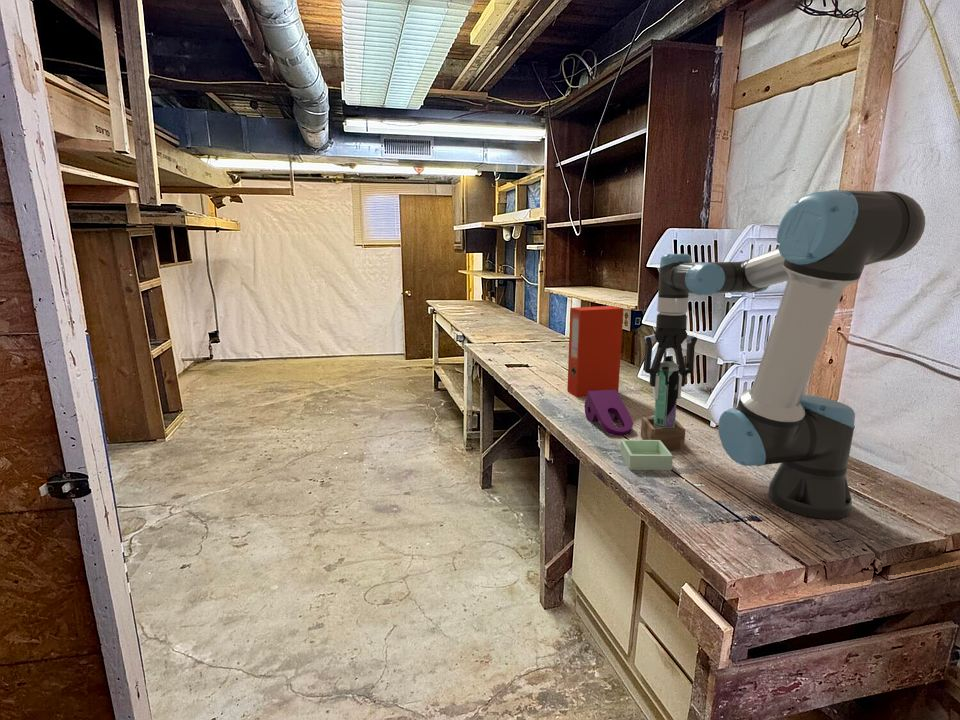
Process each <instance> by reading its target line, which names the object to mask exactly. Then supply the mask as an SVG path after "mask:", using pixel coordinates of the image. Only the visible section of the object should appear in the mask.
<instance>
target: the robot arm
mask: <svg viewBox="0 0 960 720" xmlns="http://www.w3.org/2000/svg"><path fill="white" fill-rule="evenodd" d="M925 227H926V216H925V213H924V210H923V209H922V207H921V205H920V204H919V203H918V202H917V201H916V200H915V199H914V198H912V197H911V196H909V195H907V194H905V193H903V192H897V191H890V190H889V191H888V190H883V191H882V190H881V191H878V190H877V191H875V190H874V191H872V190H868V191H867V190H849V189H848V190H843V189H833V190H826V191H825V190H824V191H814V192H811V193H807V194H806V195H804V196H802V197H801V198H800V199H798V200H796V201H795V202H794V203H793V204H792V205H791V206H789V208H788V209H787V211H786V212H785V214H784V215H783V217H782V219H781V221H780V223H779V226H778V229H777V234H776V242H777V243H778V244H779V245H778V246H777V248H775V249H773V250H770V251H767V252H764V253H762V254H759V255H756V256H754V257H751V258H748V259H745V260H742V261H741V260H740V261H724V262H723V261H718V262H716V261H712V262H711V261H708V262H707V261H706V262H704V261H700V262H695V261H694V262H693V261H692V256H691V255H690V254H689V253H671V254H670V253H668V254H667V253H665V254H663V255H661V257H660V262H659V264H660V265H659V268H658V289H657V291H658V293H657V296H658V297H657V308H656V310H657V312H658V313H657V314H656V323H655V324H656V326H655V331H654V333H653V334H651V335H644V337H643V340H644V344H645V345H644V346H645V347H644V358H643V370H642V371H644V372H645V373H646V374H649V386H650V387H652V394H651V396H652V398H653V399H654V400H655V399H658V391H659V375H657V372H658V369H659V366H660V363H661V362H662V361H663V357H664V355H665V352H666V350H667V349H673V351H674V355H675V360H676V364H678V365H679V367H678V368H679V375H678V389H677V400H681V399H682V398H681V397H682V396H681V394H682V387H685V385H686V379H687V376H688V374H693V373H694V368H695V347H696V344H697V342H698V337H697V336H694V335H690V334H688V332H687V322H688V316H687V312H688V308H689V294H695V295H697V296H712V295H714V294H729V293H732V294H733V293H735V294H737V293H747V294H753V293H758V292H759V293H760V292H764V291H766V290H768V288H769V287H770V286H772V285H773V286H774V285H777V284H780V283H783V282H786V285H785V288H784V290H783V291H784V292H783V294H782V297H781V300H780V303H779V305H778V309H777V312H776V315H775V318H774V320H773V324H772V327H771V330H770V333H769V336H768V339H767V342H766V345H765V348H764V351H763V355H762V357H761V360H760V363H759V366H758V369H757V372H756V374H755V378H754V381H753V384H752V386H751V388H749V389H747V390H745V391H743V392H742V393H741V394H740V397H739V400H738V402H737V406H736V408H729V409H727V410H725V411H723V412H722V414H720V417H719V419H718V423H717V424H718V436H719V440H720V442H721V446H722V448H723V449H724V451H725V452H726V454H727V455H728V457H729V458H730V459H731V460H732V461H734V462H736V464H739V465H741V466H743V467H751V466H753V467H754V466H756V467H762V466H765V465H775V464H780V465H778V468H777V470H776V472H775V473H774V475H773V478H772V479H771V481H770V482H769V485H768V491H767V492H768V493H767V494H768V497H769V498H770V499H771V501H773V502H774V503H775V504H776V505H778V506H779V507H781V508H782V509H785V510H787V511H790V512H792V513H794V514H797V515H801V516H804V517H808V516H809V518H814V519H820V520H838V519H839V520H841V519H844V518H846V517H848V516H849V515H850V514H851V510H852V505H853V501H852V497H851V492H850V491H851V490H850V487H849V483H848V480H847V471H848V465H849V461H850V460H849V458H850V453H851V447H852V442H853V437H854V436H853V435H854V430H855V428H856V426H855V420H856V419H855V418H856V413H855V411H854V409H853V408H852V407H851V406H849V405H848V404H845V403H843V402H840V401H837V400H833V399H829V398H826V397H823V396H821V397H820V396H817V395H816V396H815V395H810V394H804V393H805V390H806V389H807V385H808V383H809V380H810V378H811V375H812V372H813V370H814V368H815V365H816V363H817V362H816V361H817V360H818V357H819V355H820V352H821V350H822V347H823V344H824V342H825V339H826V337H827V334H828V332H829V330H830V326H831V324H832V322H833V319H834V316H835V315H836V311H837V309H838V306H839V303H840V301H841V299H842V295H843V293H844V290H845V288H846V287H848V286H850V285H852V284H854V283H856V282H858V281H859V280H860V279H861V275H862V274H863V271H864V268H865V266H868V265H872V264H876V263H880V262H886V261H891V260H895V259H897V258H900V257H902V256H904V255H906V254H907V253H909V251H911V250H913V249H914V247H915V246H917V245H918V243H919V241H920V240H921V239H922V236H923V234H924V231H925ZM685 340H686V341H685ZM655 341H657V343H658V344H657V348H656V352H655V355H654V357H653V356H652V355H653V344H654V343H655ZM684 342H686V356H685V357H686V358H685V359H684V354H683V347H682V344H683V343H684ZM652 357H653V360H652ZM684 360H685V361H684Z"/></svg>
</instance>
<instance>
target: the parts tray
mask: <svg viewBox="0 0 960 720" xmlns="http://www.w3.org/2000/svg"><path fill="white" fill-rule="evenodd" d="M619 454H620V456H621V457H622V460H623V461H624V463H625V465H626V466H627V469H628V470H629V471H635V470H636V471H672V470H673V469H672V468H673V459H674V457H673V454H672V453H671V452H670V450H668V449H667V448H666V447H665V446H664V444H663V443H662V442H661V441H660V440H643V439H620V446H619Z"/></svg>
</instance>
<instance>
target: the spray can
mask: <svg viewBox="0 0 960 720" xmlns="http://www.w3.org/2000/svg"><path fill="white" fill-rule="evenodd" d="M678 367H679V365H678V364H677V362H675V360H674V359H673V356H672V355H667V356H665V357H664V359H662V361H661V363H660V366H659V369H658V372H657V375H659V391H658V399H654V401H655V402H654V403H655V404H654V414H653V415H654V427H656V428H675V419H676V416H677V415H676V414H677V413H676V412H677V401H678V399H677V389H678V375H679V368H678Z"/></svg>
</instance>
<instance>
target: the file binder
mask: <svg viewBox="0 0 960 720" xmlns="http://www.w3.org/2000/svg"><path fill="white" fill-rule="evenodd" d="M623 318H624V308H623V307H620V306H614V305H600V306H599V305H597V306H585V307H584V306H583V307H570V311H569V334H568V335H569V337H568V338H569V339H568V362H567V363H568V364H567V368H568V369H567V389H566V390H567V392H568V393H569V394H571V395H572V396H574V397H575V398H582V397H583V398H584V397H587V394H588V391H599V390H617V392H618V393H619V387H620V386H619V385H620V372H621V354H622V353H621V352H622V340H623V339H622V337H623V323H624V319H623Z"/></svg>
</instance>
